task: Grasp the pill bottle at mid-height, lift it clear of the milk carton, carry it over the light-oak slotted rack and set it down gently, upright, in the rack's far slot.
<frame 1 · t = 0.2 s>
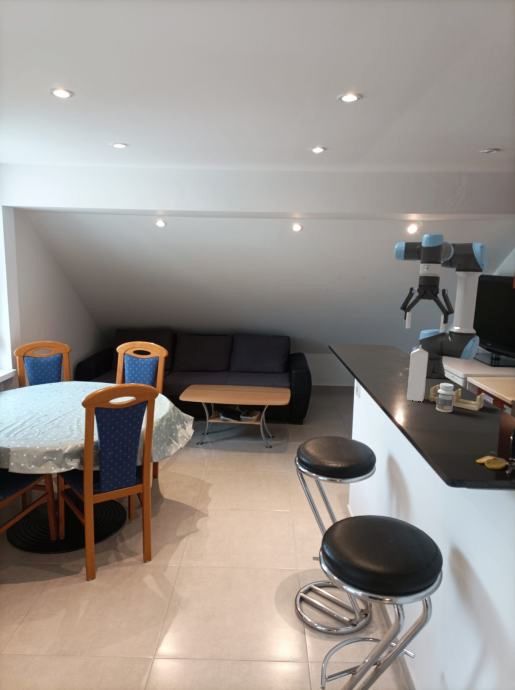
hand: (424, 330, 176), 28 cm above the countertop, fingers open, 13 cm apart
milk: (415, 399, 181), on the countertop
pill bottle: (444, 410, 167), on the countertop
rack: (455, 403, 176), on the countertop
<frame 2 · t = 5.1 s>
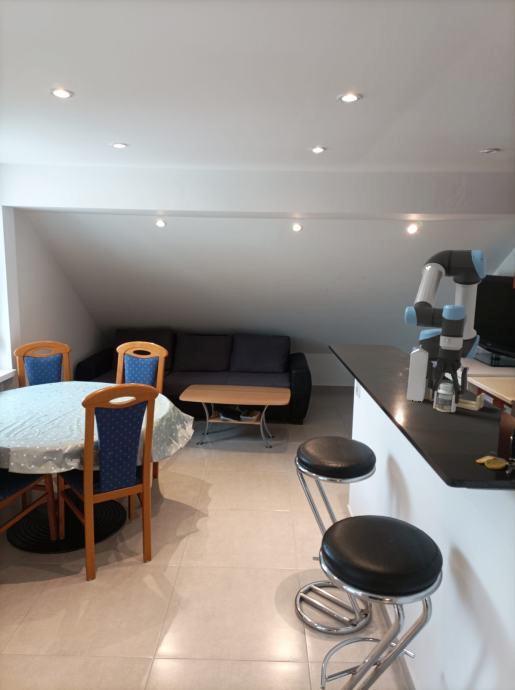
hand: (444, 409, 167), 0 cm above the countertop, fingers closed on pill bottle, 6 cm apart
pill bottle: (444, 410, 167), on the countertop, touching gripper
everything else where it was.
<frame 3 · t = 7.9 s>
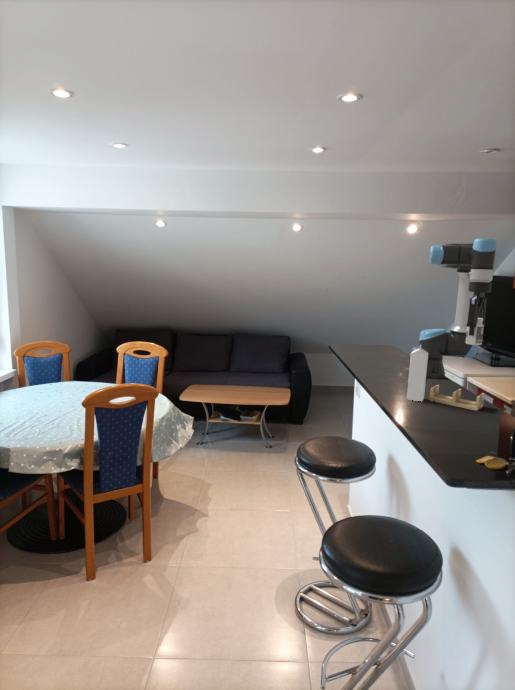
hand: (473, 343, 170), 25 cm above the countertop, fingers closed on pill bottle, 6 cm apart
pill bottle: (473, 344, 170), point 24 cm above the countertop, touching gripper
everything else where it was.
when the fingers open (3 cm above the countertop, at t = 10.7 s): pill bottle drops 2 cm, resting on rack.
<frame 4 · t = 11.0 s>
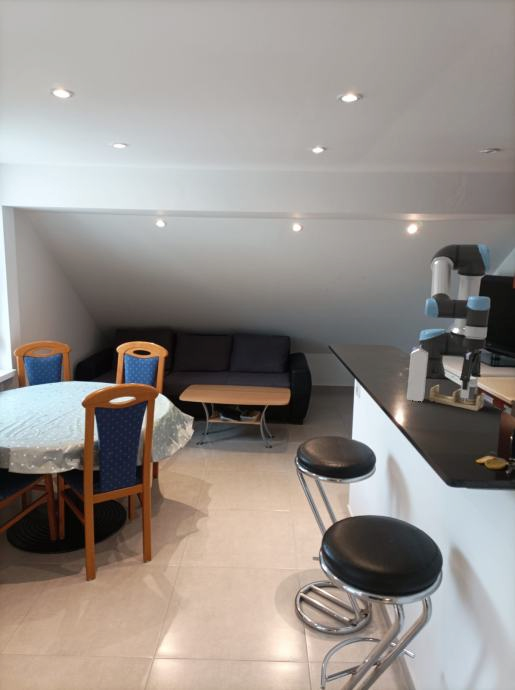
hand: (468, 395, 173), 4 cm above the countertop, fingers open, 9 cm apart
pill bottle: (467, 403, 174), point 1 cm above the countertop, touching rack
everything else where it was.
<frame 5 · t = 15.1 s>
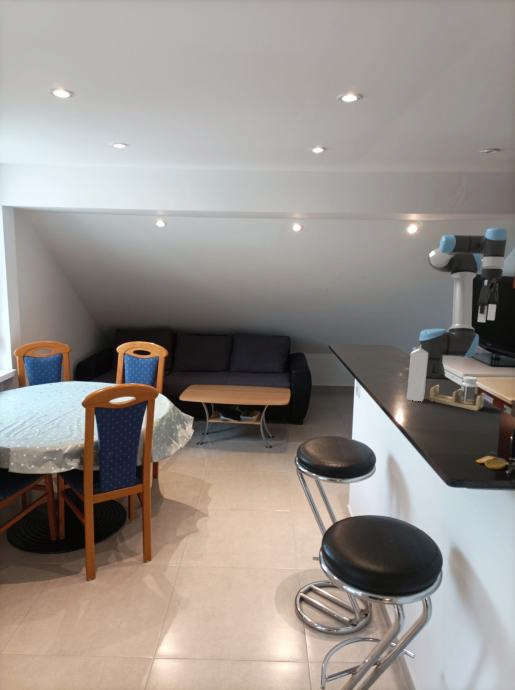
hand: (486, 321, 183), 32 cm above the countertop, fingers open, 13 cm apart
nothing on the countertop moved.
at the end: pill bottle 0.2 cm from the target spot on the rack, point 1.0 cm above the rack's base; pill bottle tilted 0°; the gripper is holding nothing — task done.
